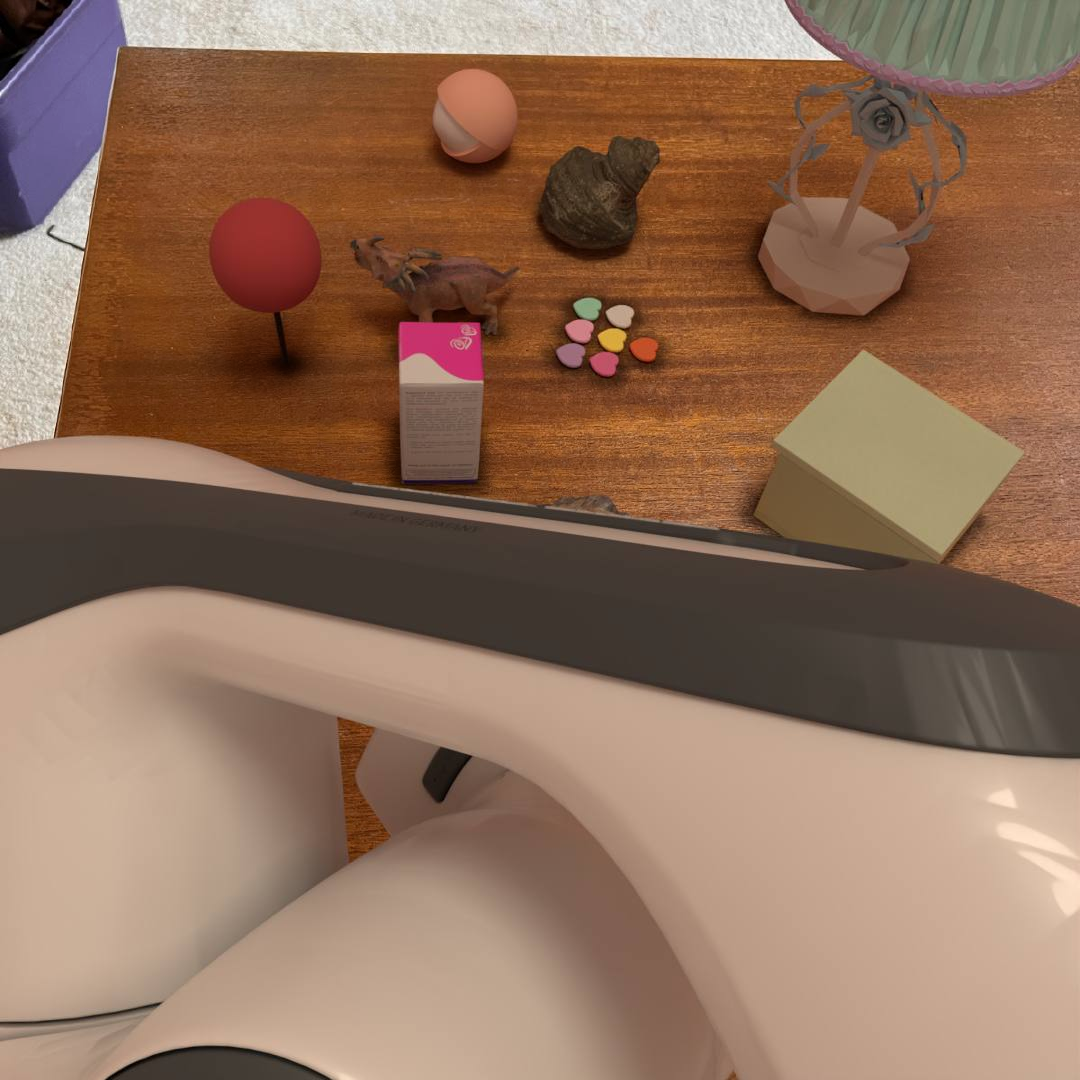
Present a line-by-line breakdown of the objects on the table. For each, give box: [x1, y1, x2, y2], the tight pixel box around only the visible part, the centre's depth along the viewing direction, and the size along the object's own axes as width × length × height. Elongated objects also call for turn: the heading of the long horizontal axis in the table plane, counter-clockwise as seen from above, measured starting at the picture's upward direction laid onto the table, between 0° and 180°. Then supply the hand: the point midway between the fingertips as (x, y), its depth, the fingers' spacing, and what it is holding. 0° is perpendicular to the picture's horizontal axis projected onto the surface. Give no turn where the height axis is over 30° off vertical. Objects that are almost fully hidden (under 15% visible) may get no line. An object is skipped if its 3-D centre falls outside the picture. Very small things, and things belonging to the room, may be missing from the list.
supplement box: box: [398, 321, 485, 485], centre depth 77 cm, size 6×6×12 cm
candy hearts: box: [555, 297, 659, 377], centre depth 89 cm, size 8×8×1 cm
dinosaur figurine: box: [349, 235, 521, 336], centre depth 85 cm, size 14×6×9 cm, turn 108°
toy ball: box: [431, 68, 519, 164], centre depth 97 cm, size 8×8×8 cm
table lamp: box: [757, 0, 1080, 317], centre depth 79 cm, size 22×22×40 cm
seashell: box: [539, 135, 661, 250], centre depth 92 cm, size 11×12×10 cm
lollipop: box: [208, 197, 323, 367], centre depth 79 cm, size 8×8×15 cm
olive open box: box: [753, 453, 1020, 564], centre depth 78 cm, size 13×12×8 cm
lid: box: [770, 349, 1026, 561], centre depth 75 cm, size 13×12×1 cm
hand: (748, 767), depth 41 cm, fingers closed
